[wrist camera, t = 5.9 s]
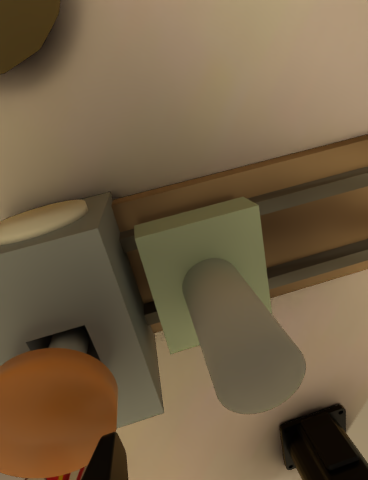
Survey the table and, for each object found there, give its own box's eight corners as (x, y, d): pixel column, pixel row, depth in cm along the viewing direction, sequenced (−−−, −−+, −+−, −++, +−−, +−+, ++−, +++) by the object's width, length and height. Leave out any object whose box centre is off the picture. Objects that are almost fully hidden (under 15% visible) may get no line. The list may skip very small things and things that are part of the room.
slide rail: (419, 240, 22) (485, 265, 18) (144, 321, 20) (148, 370, 16) (432, 117, 19) (518, 113, 15) (104, 202, 17) (96, 224, 13)
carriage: (258, 303, 18) (347, 421, 11) (166, 330, 17) (193, 476, 10) (243, 196, 15) (349, 255, 8) (134, 225, 15) (138, 317, 7)
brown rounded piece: (132, 362, 14) (133, 451, 10) (41, 390, 13) (5, 494, 10) (102, 286, 12) (90, 358, 8) (-2, 316, 12) (-66, 405, 8)
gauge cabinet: (153, 325, 21) (164, 412, 14) (70, 349, 20) (42, 452, 14) (107, 185, 17) (93, 217, 10) (4, 211, 16) (-81, 263, 10)
